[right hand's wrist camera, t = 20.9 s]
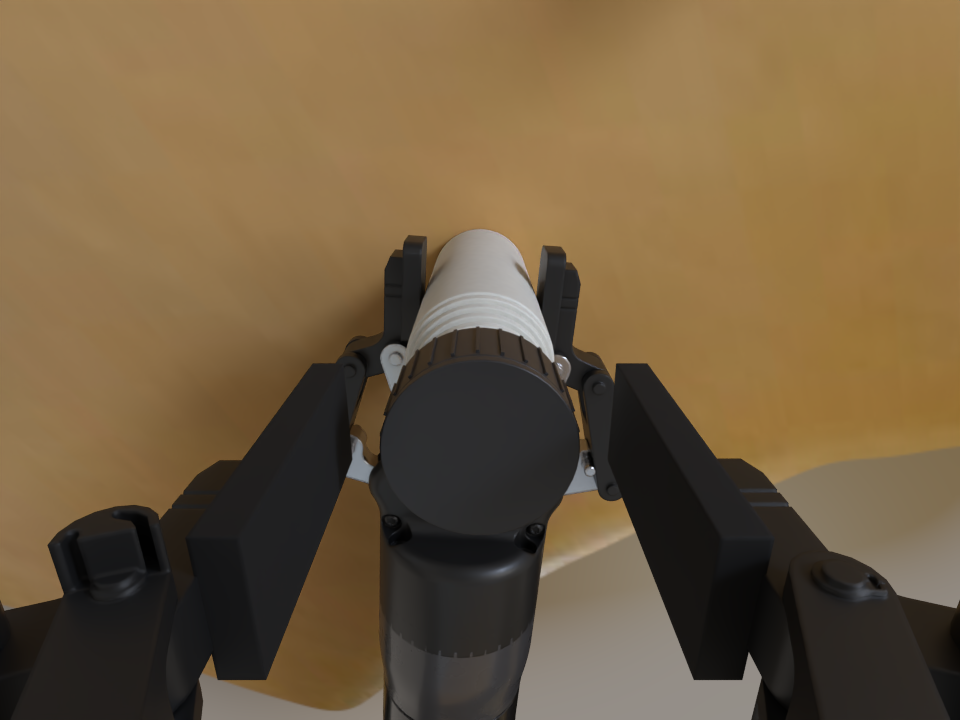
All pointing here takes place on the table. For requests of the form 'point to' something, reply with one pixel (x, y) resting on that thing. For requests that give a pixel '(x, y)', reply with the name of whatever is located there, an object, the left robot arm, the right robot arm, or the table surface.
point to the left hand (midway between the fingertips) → (484, 246)
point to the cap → (479, 433)
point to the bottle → (479, 292)
